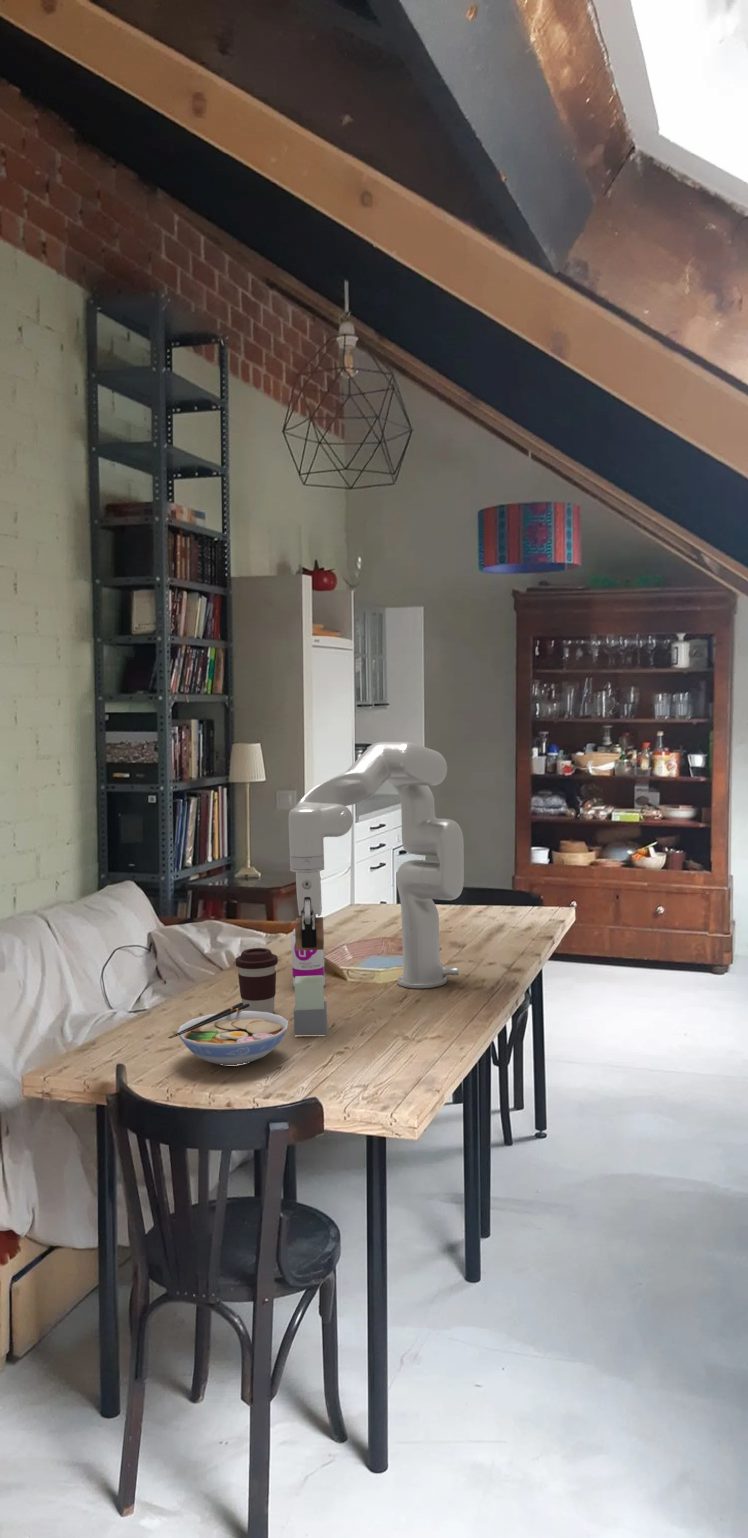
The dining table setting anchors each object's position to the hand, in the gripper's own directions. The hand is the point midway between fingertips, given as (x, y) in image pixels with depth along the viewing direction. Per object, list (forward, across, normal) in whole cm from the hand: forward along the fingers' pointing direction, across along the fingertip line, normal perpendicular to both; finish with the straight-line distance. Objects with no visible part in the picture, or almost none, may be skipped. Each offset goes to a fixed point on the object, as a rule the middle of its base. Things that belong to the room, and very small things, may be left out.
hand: (309, 943), depth 249 cm
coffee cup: (+20, +16, +13) cm, 29 cm away
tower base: (+20, 0, 0) cm, 20 cm away
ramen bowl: (+20, -18, +16) cm, 31 cm away
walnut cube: (+1, 0, 0) cm, 1 cm away
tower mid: (+14, 0, 0) cm, 14 cm away
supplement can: (+20, +38, +2) cm, 43 cm away
